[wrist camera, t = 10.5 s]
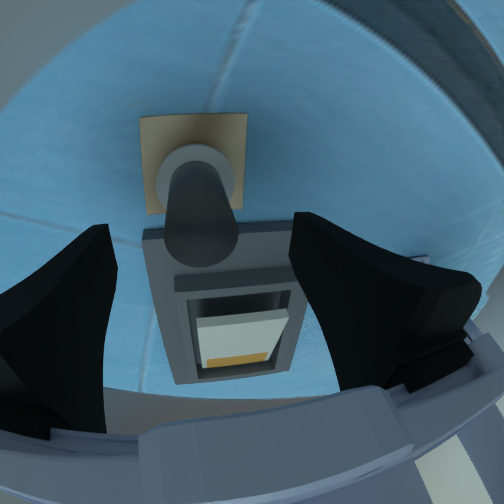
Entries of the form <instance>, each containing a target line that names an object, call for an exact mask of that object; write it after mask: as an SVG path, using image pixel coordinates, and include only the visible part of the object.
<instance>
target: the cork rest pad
mask: <svg viewBox="0 0 504 504" xmlns="http://www.w3.org/2000/svg"><path fill="white" fill-rule="evenodd" d="M247 116H248V114H247V113H194V114H173V115H159V116H148V117H140V118H139V119H140V141H141V157H142V170H143V181H144V192H145V201H146V210H147V215H151V214H164V213H166V209H165V208H164V207H163V205H162V204H161V202H160V201H159V198H158V196H157V192H156V179H157V174H158V171H159V168H160V166H161V164H162V162H163V161H164V159H165V158H166V157H167V156H168V155H169V154H170V153H171V152H172V151H174V150H176V149H177V148H179V147H182V146H185V145H189V144H204V145H208V146H211V147H213V148H215V149H217V150H218V151H220V152H221V153H222V154H223V155H224V156H225V157H226V158H227V160H228V162H229V163H230V165H231V167H232V170H233V172H234V176H235V188H234V192H233V195H232V198H231V200H230V201H229V203H230V206H231V209H243V189H244V170H245V151H246V133H247Z"/></svg>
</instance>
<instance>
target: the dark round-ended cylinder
mask: <svg viewBox="0 0 504 504" xmlns="http://www.w3.org/2000/svg"><path fill="white" fill-rule="evenodd" d="M234 188H235V176H234V172H233V170H232V167H231V165H230V163H229V162H228V160H227V158H226V157H225V156H224V155H223V154H222V153H221V152H220V151H218V150H217V149H215V148H213V147H211V146H208V145H204V144H189V145H185V146H182V147H179V148H177V149H176V150H174V151H172V152H171V153H170V154H169V155H168V156H167V157H166V158H165V159H164V161H163V162H162V164H161V166H160V168H159V171H158V174H157V179H156V192H157V196H158V198H159V201H160V202H161V204H162V205H163V207H164V208H165V209H166V219H165V230H164V242H165V246H166V248H167V250H168V252H169V253H170V255H171V256H172V257H173V258H174V259H175V260H177V261H178V262H180V263H182V264H184V265H186V266H190V267H196V268H203V267H210V266H213V265H216V264H218V263H220V262H222V261H223V260H225V259H226V258H227V257H228V256H229V255H230V254H231V253H232V252H233V250H234V249H235V247H236V244H237V241H238V227H237V223H236V221H235V218H234V215H233V212H232V209H231V206H230V203H229V201H230V200H231V198H232V195H233V192H234Z"/></svg>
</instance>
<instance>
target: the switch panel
mask: <svg viewBox="0 0 504 504" xmlns="http://www.w3.org/2000/svg"><path fill="white" fill-rule="evenodd" d="M237 227H238V241H237V244H236V247H235V249H234V250H233V252H232V253H231V254H230V255H229V256H228V257H227V258H226V259H225V260H223V261H222V262H220V263H218V264H216V265H213V266H210V267H203V268H196V267H190V266H186V265H184V264H182V263H180V262H178V261H177V260H175V259H174V258H173V257H172V256H171V255H170V253H169V252H168V250H167V248H166V246H165V242H164V230H165V228H163V229H150V230H144V231H143V236H142V246H143V251H144V257H145V263H146V268H147V273H148V278H149V283H150V288H151V293H152V297H153V302H154V306H155V311H156V315H157V319H158V323H159V327H160V331H161V335H162V339H163V343H164V346H165V350H166V354H167V357H168V361H169V364H170V368H171V371H172V374H173V378H174V381H175V384H176V385H178V384H193V383H204V382H214V381H223V380H232V379H239V378H247V377H253V376H260V375H266V374H272V373H278V372H283V371H288V370H289V369H290V365H291V362H292V358H293V355H294V352H295V348H296V344H297V341H298V337H299V334H300V330H301V326H302V323H303V319H304V315H305V311H306V307H307V303H308V300H307V298H306V296H305V294H304V292H303V290H302V288H301V286H300V284H299V282H298V280H297V278H296V276H295V274H294V271H293V268H292V266H291V262H290V259H289V256H288V253H289V247H290V240H291V233H292V227H293V221H283V222H261V223H242V224H237ZM286 308H287V312H288V315H289V319H288V321H287V323H286V325H285V327H284V329H283V331H282V333H281V335H280V337H279V339H278V341H277V343H276V345H275V347H274V349H273V351H272V353H271V355H270V357H269V359H268V360H265V361H259V362H252V363H245V364H237V365H229V366H220V367H211V368H202V362H201V354H200V347H199V339H198V330H197V321H196V318H205V317H216V316H226V315H236V314H245V313H254V312H263V311H271V310H279V309H286Z"/></svg>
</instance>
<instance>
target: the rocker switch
mask: <svg viewBox="0 0 504 504" xmlns="http://www.w3.org/2000/svg"><path fill="white" fill-rule="evenodd" d="M288 319H289V315H288V312H287V308H286V309H279V310H271V311H263V312H254V313H245V314H236V315H226V316H216V317H205V318H196V321H197V330H198V339H199V347H200V354H201V362H202V368H211V367H220V366H229V365H237V364H245V363H252V362H259V361H265V360H268V359H269V357H270V355H271V353H272V351H273V349H274V347H275V345H276V343H277V341H278V339H279V337H280V335H281V333H282V331H283V329H284V327H285V325H286V323H287V321H288Z"/></svg>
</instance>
